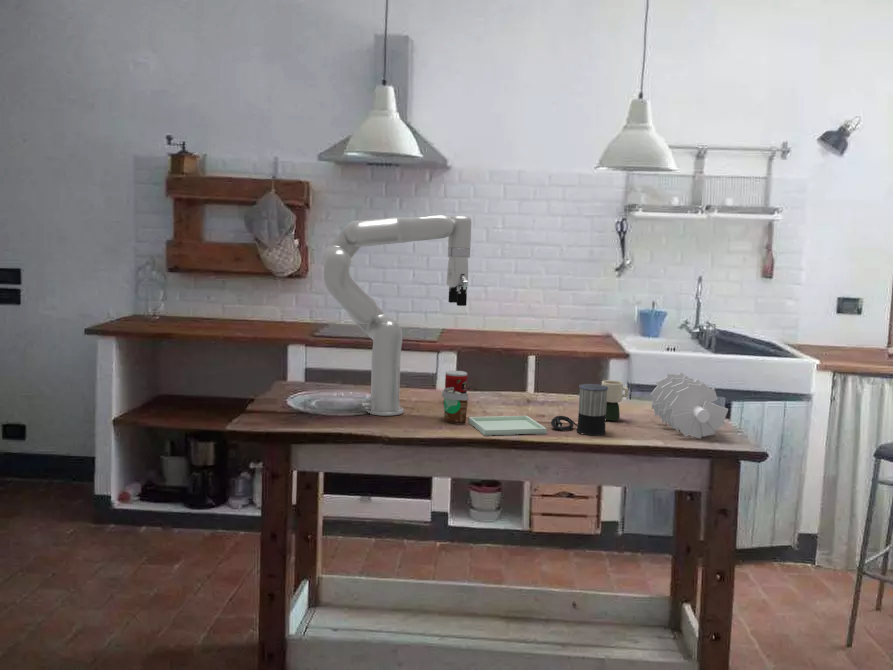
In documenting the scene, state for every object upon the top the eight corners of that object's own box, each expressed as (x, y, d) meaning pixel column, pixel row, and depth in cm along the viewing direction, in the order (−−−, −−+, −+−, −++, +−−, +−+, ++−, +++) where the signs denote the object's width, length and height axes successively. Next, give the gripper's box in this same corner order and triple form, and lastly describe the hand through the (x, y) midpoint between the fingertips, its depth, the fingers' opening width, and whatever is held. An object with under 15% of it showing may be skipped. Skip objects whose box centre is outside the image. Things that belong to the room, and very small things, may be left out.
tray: (485, 436, 288) (485, 430, 287) (468, 422, 305) (468, 417, 305) (546, 434, 293) (546, 428, 293) (526, 420, 310) (526, 415, 310)
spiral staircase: (686, 453, 292) (657, 430, 316) (737, 429, 292) (704, 408, 317) (666, 401, 287) (638, 382, 312) (718, 377, 288) (686, 360, 313)
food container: (435, 417, 311) (436, 387, 309) (452, 416, 313) (453, 386, 312) (449, 425, 300) (451, 394, 298) (467, 424, 302) (468, 394, 301)
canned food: (458, 406, 329) (459, 375, 328) (439, 402, 334) (441, 372, 332) (470, 403, 335) (472, 372, 334) (452, 399, 340) (454, 369, 338)
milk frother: (610, 435, 294) (613, 389, 292) (564, 437, 290) (566, 390, 288) (591, 425, 308) (594, 380, 306) (546, 426, 303) (548, 381, 301)
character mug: (623, 418, 320) (625, 380, 318) (628, 422, 313) (631, 384, 311) (591, 417, 319) (594, 379, 317) (596, 422, 312) (598, 383, 310)
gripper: (441, 251, 322) (439, 301, 324) (455, 254, 305) (453, 306, 308) (462, 251, 324) (460, 301, 326) (477, 254, 307) (475, 306, 310)
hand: (457, 304), depth 317 cm, fingers open, 9 cm apart
